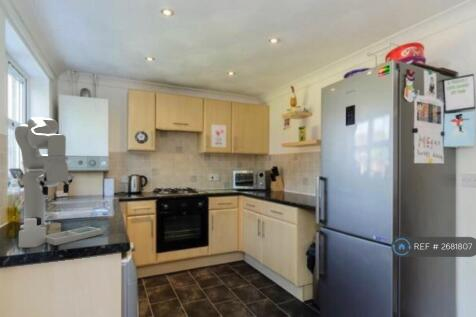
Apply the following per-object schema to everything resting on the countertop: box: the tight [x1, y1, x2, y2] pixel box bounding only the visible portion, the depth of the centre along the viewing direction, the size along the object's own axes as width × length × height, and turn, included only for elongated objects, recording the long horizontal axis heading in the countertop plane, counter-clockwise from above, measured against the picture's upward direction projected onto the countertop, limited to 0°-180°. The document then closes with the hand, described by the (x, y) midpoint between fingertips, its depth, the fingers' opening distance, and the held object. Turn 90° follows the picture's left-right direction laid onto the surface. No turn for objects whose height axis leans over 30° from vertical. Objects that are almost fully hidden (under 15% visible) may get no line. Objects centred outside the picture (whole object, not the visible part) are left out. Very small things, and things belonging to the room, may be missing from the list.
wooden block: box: [45, 222, 62, 235], centre depth 137 cm, size 5×5×6 cm
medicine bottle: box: [18, 217, 47, 249], centre depth 122 cm, size 7×7×12 cm
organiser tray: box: [45, 226, 103, 246], centre depth 134 cm, size 12×22×2 cm, turn 151°
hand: (55, 193), depth 138 cm, fingers open, 9 cm apart
